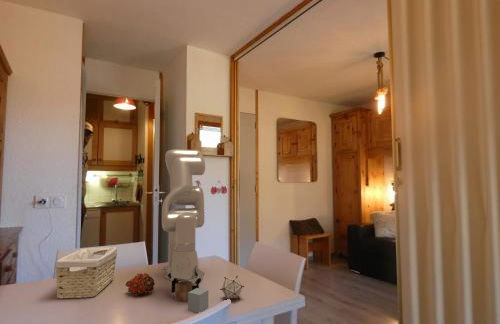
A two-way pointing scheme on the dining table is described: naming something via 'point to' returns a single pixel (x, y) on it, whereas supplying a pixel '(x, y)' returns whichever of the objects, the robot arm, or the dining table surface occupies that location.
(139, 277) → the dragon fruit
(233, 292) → the beige geometric ornament
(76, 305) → the dining table surface
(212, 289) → the dining table surface
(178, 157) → the robot arm
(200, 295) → the block
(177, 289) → the block
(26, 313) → the dining table surface
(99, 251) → the storage basket
